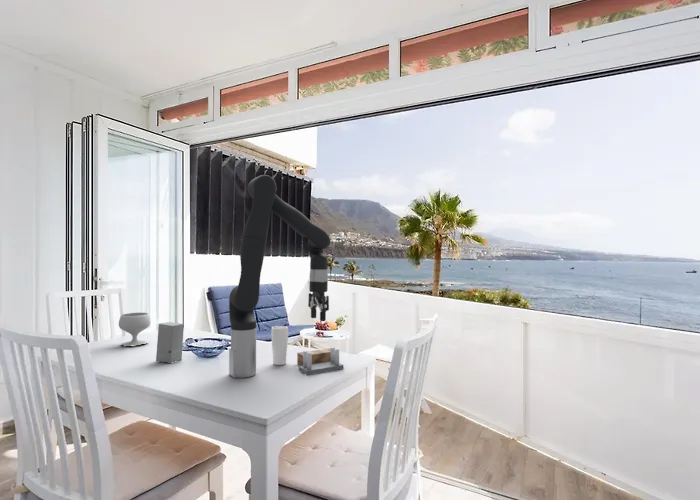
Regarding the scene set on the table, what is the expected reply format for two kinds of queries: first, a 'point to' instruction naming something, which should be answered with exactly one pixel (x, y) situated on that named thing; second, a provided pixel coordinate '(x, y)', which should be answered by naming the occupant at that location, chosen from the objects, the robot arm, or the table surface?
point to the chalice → (134, 326)
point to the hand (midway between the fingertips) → (318, 319)
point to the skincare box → (169, 342)
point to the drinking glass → (279, 344)
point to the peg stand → (320, 367)
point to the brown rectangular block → (316, 356)
